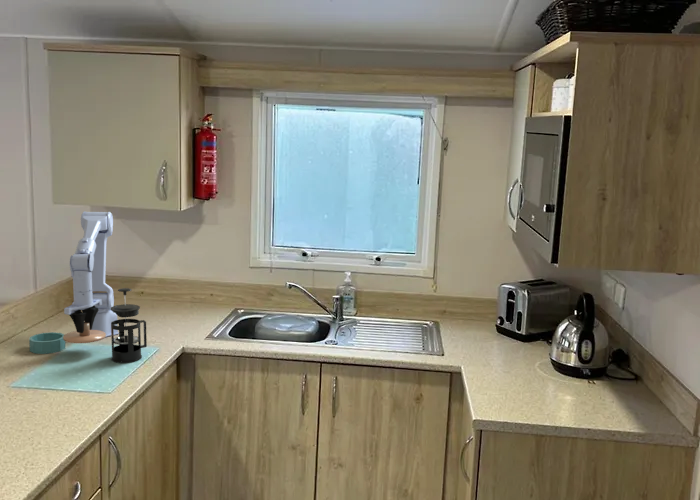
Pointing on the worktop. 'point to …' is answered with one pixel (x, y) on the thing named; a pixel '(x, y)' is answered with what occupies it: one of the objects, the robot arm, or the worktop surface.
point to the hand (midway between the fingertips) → (84, 330)
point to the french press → (126, 342)
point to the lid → (84, 335)
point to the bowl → (47, 343)
